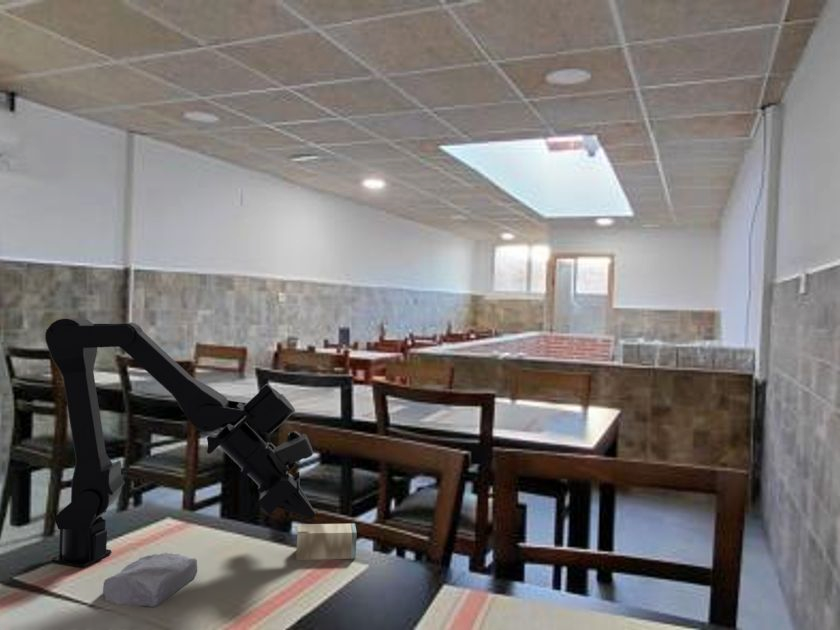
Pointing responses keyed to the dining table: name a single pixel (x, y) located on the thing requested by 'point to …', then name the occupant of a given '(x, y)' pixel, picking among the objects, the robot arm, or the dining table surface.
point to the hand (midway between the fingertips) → (313, 516)
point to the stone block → (150, 579)
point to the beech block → (326, 541)
